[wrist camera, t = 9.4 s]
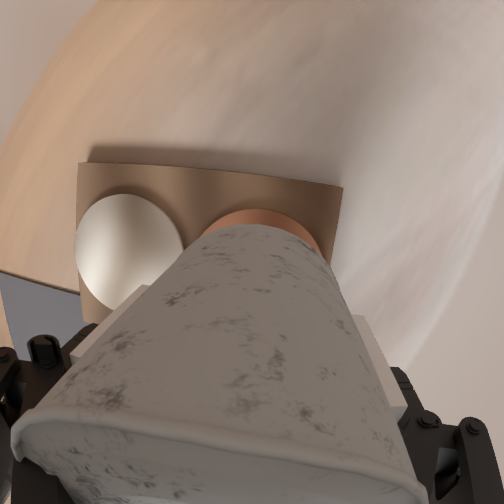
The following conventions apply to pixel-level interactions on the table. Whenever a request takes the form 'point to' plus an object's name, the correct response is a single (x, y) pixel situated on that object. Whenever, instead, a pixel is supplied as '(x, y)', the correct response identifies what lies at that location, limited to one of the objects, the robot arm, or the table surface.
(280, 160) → the table surface
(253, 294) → the grey marbled cylinder
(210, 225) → the board
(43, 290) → the mat
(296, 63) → the table surface
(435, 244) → the table surface
